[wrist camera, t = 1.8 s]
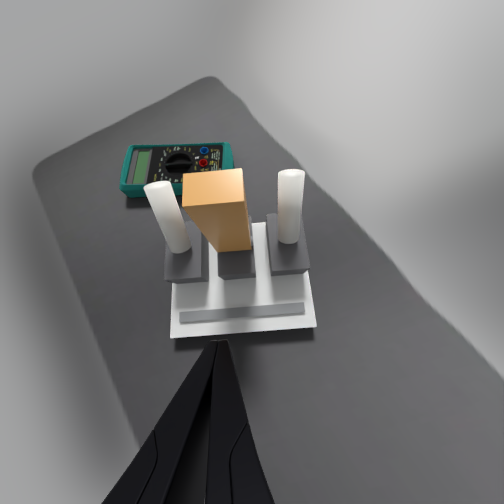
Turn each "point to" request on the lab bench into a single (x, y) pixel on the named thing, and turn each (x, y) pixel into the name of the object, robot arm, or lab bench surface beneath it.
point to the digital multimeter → (170, 164)
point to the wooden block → (219, 208)
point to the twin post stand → (237, 269)
